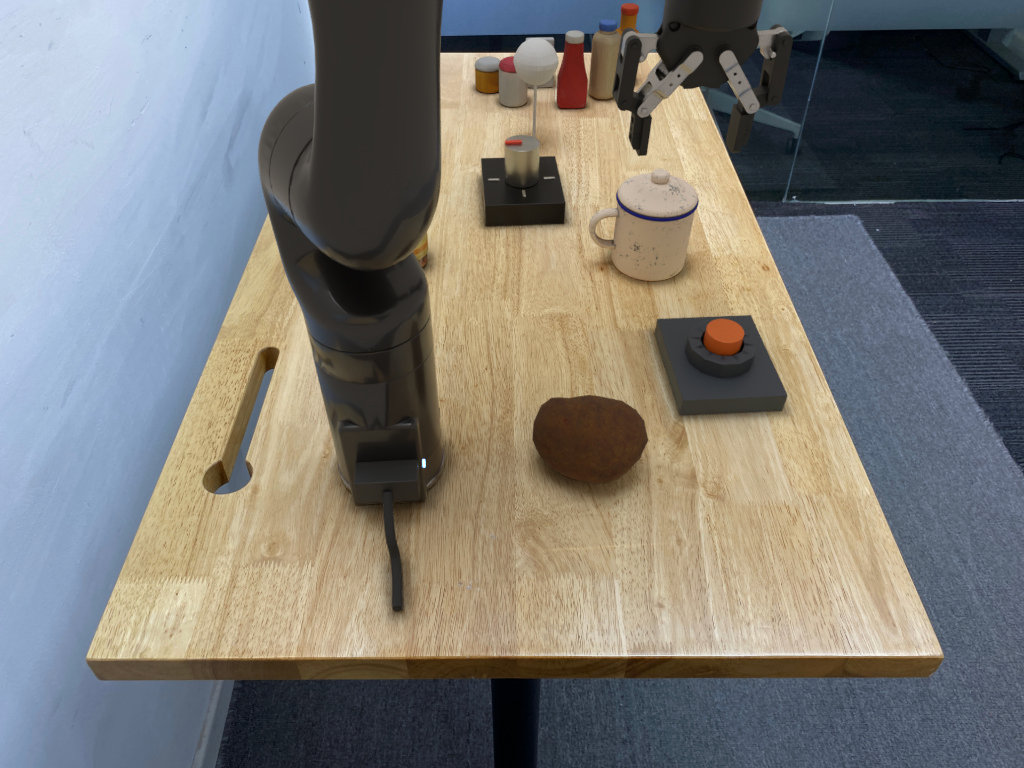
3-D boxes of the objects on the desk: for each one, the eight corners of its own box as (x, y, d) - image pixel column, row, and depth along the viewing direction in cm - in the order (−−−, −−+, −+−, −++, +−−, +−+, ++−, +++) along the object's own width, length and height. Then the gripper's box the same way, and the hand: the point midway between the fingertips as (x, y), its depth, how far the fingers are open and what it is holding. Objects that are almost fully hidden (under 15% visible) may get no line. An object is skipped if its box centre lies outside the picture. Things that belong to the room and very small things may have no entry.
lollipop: (562, 142, 113) (567, 37, 102) (541, 159, 109) (545, 51, 99) (526, 132, 115) (528, 27, 105) (505, 147, 112) (504, 41, 101)
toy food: (632, 74, 130) (641, -1, 122) (645, 108, 121) (656, 28, 113) (474, 77, 129) (472, 1, 121) (476, 111, 120) (473, 31, 112)
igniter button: (745, 355, 74) (749, 341, 73) (708, 357, 74) (711, 343, 73) (734, 331, 77) (738, 317, 76) (699, 332, 77) (702, 319, 75)
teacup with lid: (674, 237, 95) (690, 149, 87) (695, 281, 89) (714, 191, 81) (578, 243, 94) (585, 155, 86) (593, 288, 88) (601, 197, 80)
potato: (532, 434, 72) (534, 372, 66) (637, 437, 71) (648, 375, 66) (531, 498, 66) (533, 436, 61) (645, 501, 66) (657, 440, 61)
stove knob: (536, 169, 101) (537, 131, 97) (541, 186, 98) (542, 148, 94) (502, 171, 101) (502, 133, 97) (506, 188, 97) (506, 150, 94)
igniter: (782, 411, 74) (792, 381, 71) (679, 416, 73) (686, 386, 71) (746, 330, 82) (754, 301, 80) (654, 334, 82) (659, 305, 79)
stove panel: (564, 223, 97) (565, 201, 95) (485, 226, 97) (484, 204, 95) (554, 175, 106) (555, 154, 104) (481, 178, 105) (480, 156, 103)
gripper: (640, -32, 55) (617, 174, 66) (832, -36, 56) (777, 167, 68) (619, -61, 61) (601, 134, 72) (795, -64, 62) (750, 128, 73)
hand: (686, 150), depth 70 cm, fingers open, 8 cm apart
